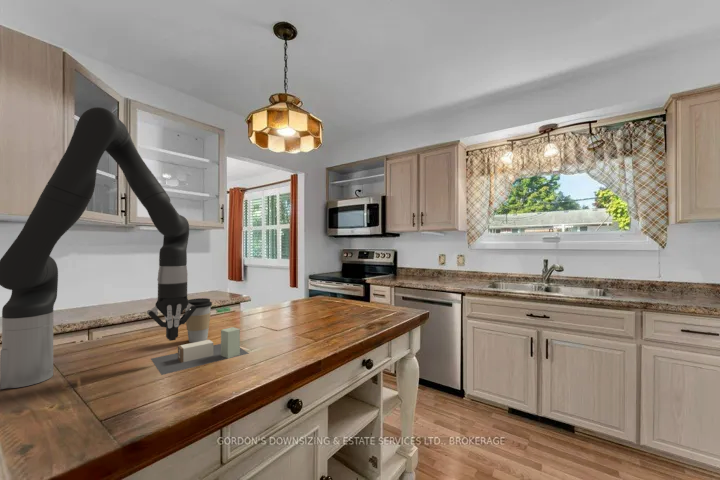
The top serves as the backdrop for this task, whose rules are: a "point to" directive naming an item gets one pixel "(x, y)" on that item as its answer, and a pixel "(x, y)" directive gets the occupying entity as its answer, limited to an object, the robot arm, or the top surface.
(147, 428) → the top surface
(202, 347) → the cream block
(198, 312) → the coffee cup
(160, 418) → the top surface
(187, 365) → the mat
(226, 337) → the sage block
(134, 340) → the top surface
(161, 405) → the top surface
